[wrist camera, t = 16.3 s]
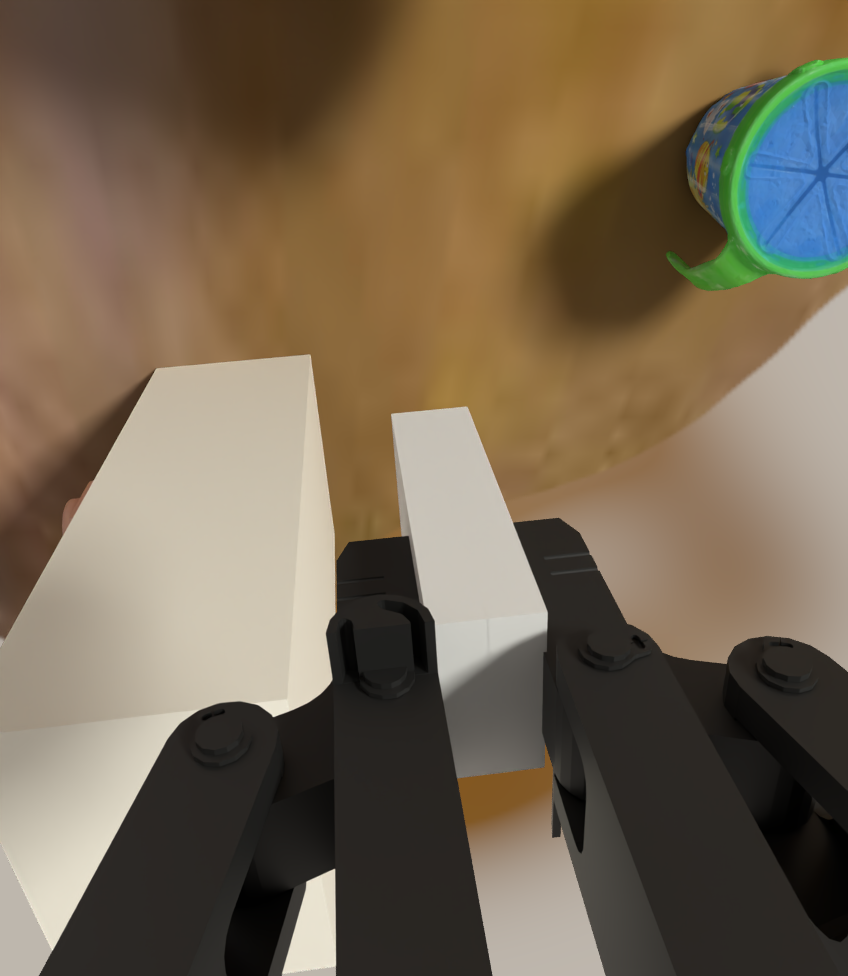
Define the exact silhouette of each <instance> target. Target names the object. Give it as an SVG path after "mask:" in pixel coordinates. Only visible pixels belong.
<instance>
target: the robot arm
mask: <svg viewBox="0 0 848 976" xmlns="http://www.w3.org/2000/svg"><path fill="white" fill-rule="evenodd" d="M391 417H392V429H393V440H394V452H395V464H396V475H397V487H398V499H399V510H400V522H401V533H402V537H393V538H383V539H374V540H365V541H355V542H349V543H348V544H347V546H346V547H345V549H344V550H343V552H342V553H341V555H340V556H339V558H338V560H337V613H336V614H335V615H334V616H333V617H332V618H331V619H330V621H329V624H328V627H327V630H326V639H327V646H328V652H329V659H330V666H331V672H332V681H331V683H330V684H329V685H328V687H327V688H326V689H325V690H324V691H323V692H322V693H321V694H320V695H318V696H317V697H316V698H314V699H313V700H312V701H310V702H309V703H307V704H304V705H302V706H300V707H298V708H296V709H294V710H291V711H289V712H286V713H283V714H281V715H278V716H275V717H273V716H272V714H270V713H269V712H267V711H266V710H265V709H263V708H262V707H260V706H259V705H256V704H251V703H246V702H242V701H236V702H225V703H218V704H215V705H212V706H209V707H207V708H204V709H201V710H198V711H197V712H195V713H194V714H193V715H191V716H190V717H188V718H187V719H185V720H184V721H182V722H181V723H180V724H179V725H178V726H177V728H176V729H175V730H174V731H173V733H172V734H171V735H170V736H169V738H168V739H167V741H166V743H165V744H164V746H163V748H162V750H161V752H160V754H159V756H158V757H157V759H156V761H155V763H154V765H153V767H152V768H151V770H150V772H149V774H148V776H147V778H146V779H145V781H144V783H143V785H142V787H141V789H140V791H139V792H138V794H137V796H136V798H135V800H134V802H133V803H132V805H131V807H130V809H129V811H128V813H127V814H126V816H125V818H124V820H123V822H122V824H121V826H120V827H119V829H118V831H117V833H116V835H115V837H114V838H113V840H112V842H111V844H110V846H109V848H108V850H107V851H106V853H105V855H104V857H103V859H102V861H101V862H100V864H99V866H98V868H97V870H96V872H95V873H94V875H93V877H92V879H91V881H90V883H89V885H88V886H87V888H86V890H85V892H84V894H83V896H82V897H81V899H80V901H79V903H78V905H77V907H76V908H75V910H74V912H73V914H72V916H71V918H70V920H69V921H68V923H67V925H66V927H65V929H64V931H63V932H62V934H61V936H60V938H59V940H58V942H57V943H56V945H55V947H54V949H53V951H52V953H51V955H50V956H49V958H48V960H47V962H46V964H45V966H44V967H43V969H42V971H41V973H40V975H39V976H282V972H283V969H284V965H285V962H286V958H287V955H288V951H289V947H290V944H291V940H292V937H293V933H294V930H295V926H296V923H297V919H298V916H299V912H300V909H301V905H302V902H303V898H304V894H305V891H306V882H307V881H309V880H311V879H314V878H316V877H318V876H320V875H322V874H324V873H327V872H329V871H331V870H333V869H335V910H336V976H492V971H491V965H490V960H489V954H488V949H487V943H486V937H485V932H484V926H483V921H482V915H481V909H480V904H479V899H478V893H477V887H476V881H475V876H474V870H473V865H472V859H471V854H470V848H469V843H468V838H467V832H466V826H465V820H464V815H463V809H462V804H461V798H460V792H459V787H458V781H457V778H462V777H471V776H477V775H487V774H495V773H503V772H510V771H518V770H526V769H534V768H542V767H544V763H545V744H546V747H547V750H548V753H549V756H550V760H551V763H552V766H553V793H552V837H553V838H554V837H560V834H561V827H562V830H563V833H564V837H565V840H566V843H567V847H568V850H569V853H570V857H571V860H572V864H573V867H574V870H575V874H576V877H577V881H578V883H579V887H580V890H581V894H582V897H583V900H584V904H585V907H586V911H587V914H588V918H589V921H590V924H591V927H592V931H593V934H594V938H595V941H596V944H597V948H598V951H599V955H600V958H601V961H602V965H603V968H604V971H605V975H606V976H848V672H847V671H846V670H845V669H843V668H842V667H841V666H840V665H839V664H837V663H836V662H835V661H834V660H832V659H831V658H830V657H828V656H827V655H825V654H824V653H822V652H820V651H819V650H817V649H816V648H814V647H812V646H810V645H807V644H805V643H802V642H799V641H795V640H792V639H790V638H781V637H771V636H765V637H758V638H751V639H748V640H746V641H744V642H742V643H740V644H738V645H737V646H735V647H734V649H733V650H732V652H731V654H730V655H729V657H728V661H727V664H721V663H712V662H703V661H694V660H688V659H683V658H677V657H673V656H670V655H667V654H664V653H662V651H661V649H660V648H659V646H658V645H657V644H656V643H655V641H654V640H653V639H652V638H651V637H650V636H649V635H648V634H647V633H645V632H643V631H641V630H640V629H638V628H636V627H634V626H632V625H629V624H627V623H626V621H625V619H624V617H623V615H622V613H621V611H620V609H619V608H618V605H617V604H616V602H615V600H614V598H613V596H612V594H611V592H610V590H609V588H608V586H607V585H606V582H605V581H604V579H603V577H602V575H601V573H600V571H598V570H597V565H596V563H595V561H594V560H593V558H592V556H591V555H590V554H589V550H588V548H587V546H586V544H585V542H584V540H583V539H582V537H581V535H580V533H579V532H578V531H576V530H575V529H574V528H572V527H571V526H569V525H568V524H567V523H565V522H564V521H562V520H561V519H560V518H553V519H543V520H534V521H524V522H515V523H513V522H512V520H511V518H510V515H509V512H508V509H507V507H506V504H505V502H504V499H503V497H502V494H501V492H500V489H499V486H498V484H497V481H496V479H495V476H494V474H493V471H492V469H491V466H490V463H489V461H488V458H487V456H486V453H485V451H484V448H483V446H482V443H481V440H480V438H479V435H478V433H477V430H476V428H475V425H474V423H473V420H472V417H471V415H470V412H469V410H468V407H459V408H448V409H438V410H427V411H417V412H407V413H396V414H391Z"/></svg>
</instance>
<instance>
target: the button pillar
mask: <svg viewBox="0 0 848 976" xmlns="http://www.w3.org/2000/svg"><path fill="white" fill-rule="evenodd" d="M334 615H335V535H334V527H333V519H332V512H331V505H330V497H329V490H328V482H327V475H326V467H325V460H324V452H323V445H322V437H321V430H320V423H319V415H318V408H317V400H316V393H315V385H314V378H313V370H312V363H311V355H299V356H288V357H277V358H266V359H255V360H244V361H233V362H222V363H211V364H200V365H189V366H178V367H167V368H156V370H155V372H154V374H153V375H152V377H151V379H150V381H149V382H148V384H147V386H146V388H145V390H144V391H143V393H142V395H141V397H140V399H139V400H138V402H137V404H136V406H135V408H134V409H133V411H132V413H131V415H130V417H129V418H128V420H127V422H126V424H125V425H124V427H123V429H122V431H121V433H120V434H119V436H118V438H117V440H116V442H115V443H114V445H113V447H112V449H111V451H110V452H109V454H108V456H107V458H106V460H105V461H104V463H103V465H102V467H101V469H100V470H99V472H98V474H97V476H96V477H95V479H94V481H93V483H92V485H91V486H90V488H89V490H88V492H87V494H86V495H85V497H84V499H83V501H82V503H81V504H80V506H79V508H78V510H77V512H76V513H75V515H74V517H73V519H72V520H71V522H70V524H69V526H68V528H67V529H66V531H65V533H64V535H63V537H62V538H61V540H60V542H59V544H58V546H57V547H56V549H55V551H54V553H53V555H52V556H51V558H50V560H49V562H48V563H47V565H46V567H45V569H44V571H43V572H42V574H41V576H40V578H39V580H38V581H37V583H36V585H35V587H34V589H33V590H32V592H31V594H30V596H29V598H28V599H27V601H26V603H25V605H24V607H23V608H22V610H21V612H20V614H19V615H18V617H17V619H16V621H15V623H14V624H13V626H12V628H11V630H10V632H9V633H8V635H7V637H6V639H5V641H4V642H3V644H2V646H1V648H0V844H1V846H2V848H3V850H4V852H5V854H6V856H7V859H8V861H9V863H10V865H11V867H12V869H13V871H14V873H15V875H16V877H17V879H18V881H19V883H20V885H21V887H22V889H23V891H24V894H25V896H26V898H27V900H28V902H29V904H30V906H31V908H32V910H33V912H34V914H35V916H36V919H37V921H38V923H39V925H40V927H41V929H42V931H43V933H44V935H45V937H46V939H47V941H48V943H49V945H50V947H51V950H52V951H53V949H54V947H55V945H56V943H57V942H58V940H59V938H60V936H61V934H62V932H63V931H64V929H65V927H66V925H67V923H68V921H69V920H70V918H71V916H72V914H73V912H74V910H75V908H76V907H77V905H78V903H79V901H80V899H81V897H82V896H83V894H84V892H85V890H86V888H87V886H88V885H89V883H90V881H91V879H92V877H93V875H94V873H95V872H96V870H97V868H98V866H99V864H100V862H101V861H102V859H103V857H104V855H105V853H106V851H107V850H108V848H109V846H110V844H111V842H112V840H113V838H114V837H115V835H116V833H117V831H118V829H119V827H120V826H121V824H122V822H123V820H124V818H125V816H126V814H127V813H128V811H129V809H130V807H131V805H132V803H133V802H134V800H135V798H136V796H137V794H138V792H139V791H140V789H141V787H142V785H143V783H144V781H145V779H146V778H147V776H148V774H149V772H150V770H151V768H152V767H153V765H154V763H155V761H156V759H157V757H158V756H159V754H160V752H161V750H162V748H163V746H164V744H165V743H166V741H167V739H168V738H169V736H170V735H171V734H172V733H173V731H174V730H175V729H176V728H177V726H178V725H179V724H180V723H181V722H182V721H184V720H185V719H187V718H188V717H190V716H191V715H193V714H194V713H195V712H197V711H198V710H201V709H204V708H207V707H209V706H212V705H215V704H218V703H225V702H236V701H242V702H246V703H251V704H256V705H259V706H260V707H262V708H263V709H265V710H266V711H267V712H269V713H270V714H272V716H273V717H275V716H278V715H281V714H283V713H286V712H289V711H291V710H294V709H296V708H298V707H300V706H302V705H304V704H307V703H309V702H310V701H312V700H313V699H314V698H316V697H317V696H318V695H320V694H321V693H322V692H323V691H324V690H325V689H326V688H327V687H328V685H329V684H330V683H331V681H332V672H331V666H330V659H329V652H328V646H327V639H326V630H327V627H328V624H329V621H330V619H331V618H332V617H333V616H334ZM335 966H336V910H335V869H333V870H331V871H329V872H327V873H324V874H322V875H320V876H318V877H316V878H314V879H311V880H309V881H307V882H306V891H305V894H304V898H303V902H302V905H301V909H300V912H299V916H298V919H297V923H296V926H295V930H294V933H293V937H292V940H291V944H290V947H289V951H288V955H287V958H286V962H285V965H284V969H283V972H282V974H284V973H292V972H299V971H307V970H314V969H321V968H328V967H335Z"/></svg>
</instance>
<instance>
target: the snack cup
mask: <svg viewBox="0 0 848 976" xmlns="http://www.w3.org/2000/svg"><path fill="white" fill-rule="evenodd" d="M686 157H687V177H688V181H689V186H690V189H691V191H692V194H693V195H694V197H695V199H696V200H697V202H698V203H699V204H700V205H701V206H702V207H703V208H704V209H705V210H706V211H707V212H708V213H709V214H710V215H711V216H712V217H713V218H714V219H715V220H716V221H717V222H718V223H719V224H720V225H721V226H722V227H723V228H725V229H726V232H727V234H728V237H727V238H728V241H727V244H726V245H725V247H724V249H723V250H722V251H721V253H720V254H719V256H718V257H717V258H716V259H714V260H711V261H708V262H705V263H703V264H700V265H698V266H696V267H693V268H690V267H689V266H688V265H687V264H686V263H685V262H684V261H683V260H682V259H681V258H680V257H679V256H677V255H676V254H675V253H674V252H671V251H669V252H667V254H666V256H667V259H668V261H669V262H670V263H671V265H672V266H673V267H674V268H675V269H676V270H677V271H678V272H680V273H681V274H683V275H684V276H685V277H686V278H687V279H689V280H690V281H691V282H692V283H693V284H694V285H695V286H696V287H698V288H700V289H703V290H707V291H713V290H726V289H731V288H733V287H738V286H740V285H743V284H746V283H749V282H751V281H753V280H755V279H757V278H759V277H761V276H764V275H767V274H777V275H781V276H785V277H789V278H801V279H808V278H809V279H811V278H818V277H823V276H827V275H830V274H835V273H838V272H840V271H842V270H844V269H846V268H848V58H839V59H830V60H825V61H821V60H814V61H811V62H808V63H806V64H804V65H802V66H799V67H797V68H796V69H794V70H793V71H792V72H791V73H789V74H788V75H786V76H783V77H779V78H775V79H770V80H766V81H762V82H758V83H755V84H752V85H749V86H745V87H741V88H739V89H736V90H734V91H732V92H730V93H728V94H726V95H725V96H724V97H723V98H722V99H721V100H720V101H718V102H717V103H716V104H714V105H713V106H711V108H710V109H709V110H708V111H707V112H706V114H705V115H704V117H703V118H702V120H701V121H700V123H699V125H698V126H697V129H696V131H695V133H694V135H693V136H692V138H691V140H690V143H689V145H688V147H687V149H686Z"/></svg>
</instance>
